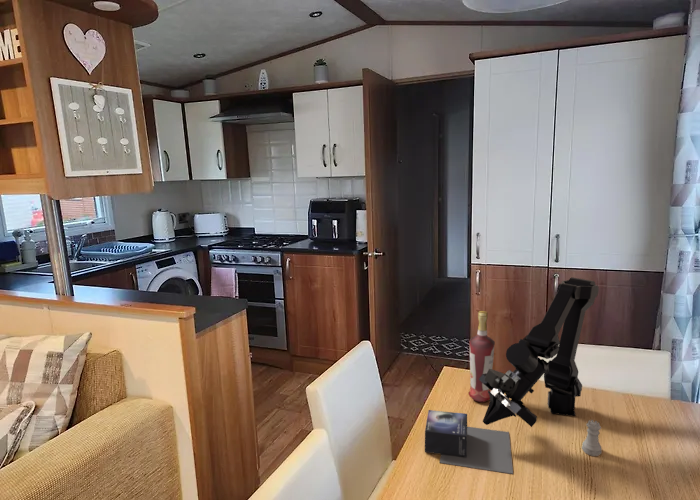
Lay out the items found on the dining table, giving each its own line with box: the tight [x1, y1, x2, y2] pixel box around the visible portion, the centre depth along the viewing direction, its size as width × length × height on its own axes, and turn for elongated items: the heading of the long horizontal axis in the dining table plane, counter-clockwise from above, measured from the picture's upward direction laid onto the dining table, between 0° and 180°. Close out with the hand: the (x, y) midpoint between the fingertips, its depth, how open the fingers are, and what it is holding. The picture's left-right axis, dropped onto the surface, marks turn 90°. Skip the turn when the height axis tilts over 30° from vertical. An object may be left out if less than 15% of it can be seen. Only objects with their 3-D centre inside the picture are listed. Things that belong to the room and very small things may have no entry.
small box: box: [424, 409, 468, 457], centre depth 119 cm, size 11×6×10 cm
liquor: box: [468, 310, 495, 403], centre depth 138 cm, size 7×7×28 cm
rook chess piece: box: [581, 419, 603, 457], centre depth 114 cm, size 4×4×8 cm
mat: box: [439, 426, 514, 475], centre depth 118 cm, size 17×17×1 cm
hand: (484, 423), depth 117 cm, fingers closed
